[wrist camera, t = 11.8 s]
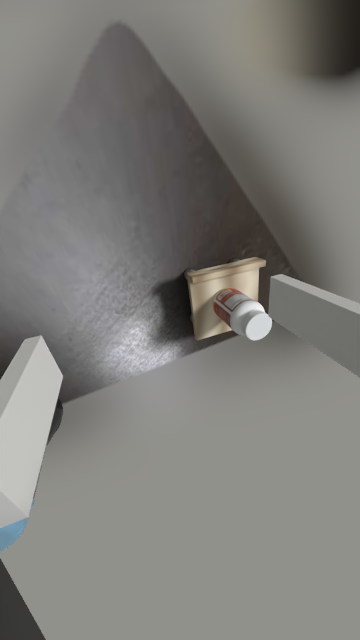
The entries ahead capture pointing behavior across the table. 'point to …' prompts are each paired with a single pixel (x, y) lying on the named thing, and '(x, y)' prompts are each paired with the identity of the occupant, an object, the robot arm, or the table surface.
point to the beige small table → (213, 281)
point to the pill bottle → (242, 313)
